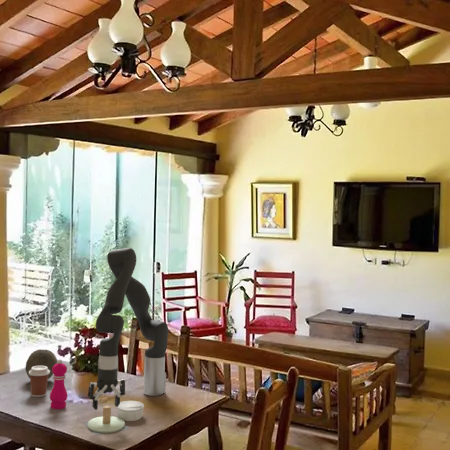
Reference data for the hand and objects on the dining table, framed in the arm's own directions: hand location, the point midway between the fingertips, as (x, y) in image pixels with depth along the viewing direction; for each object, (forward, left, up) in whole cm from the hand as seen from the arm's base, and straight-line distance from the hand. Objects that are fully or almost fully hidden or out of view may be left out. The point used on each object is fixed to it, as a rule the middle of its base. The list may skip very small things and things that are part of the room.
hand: (106, 407), depth 234 cm
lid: (0, 0, -7) cm, 7 cm away
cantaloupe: (+7, -66, -8) cm, 67 cm away
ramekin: (-12, -5, -8) cm, 15 cm away
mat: (0, 0, -8) cm, 8 cm away
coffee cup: (+13, -48, -8) cm, 50 cm away
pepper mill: (+10, -29, -8) cm, 31 cm away
